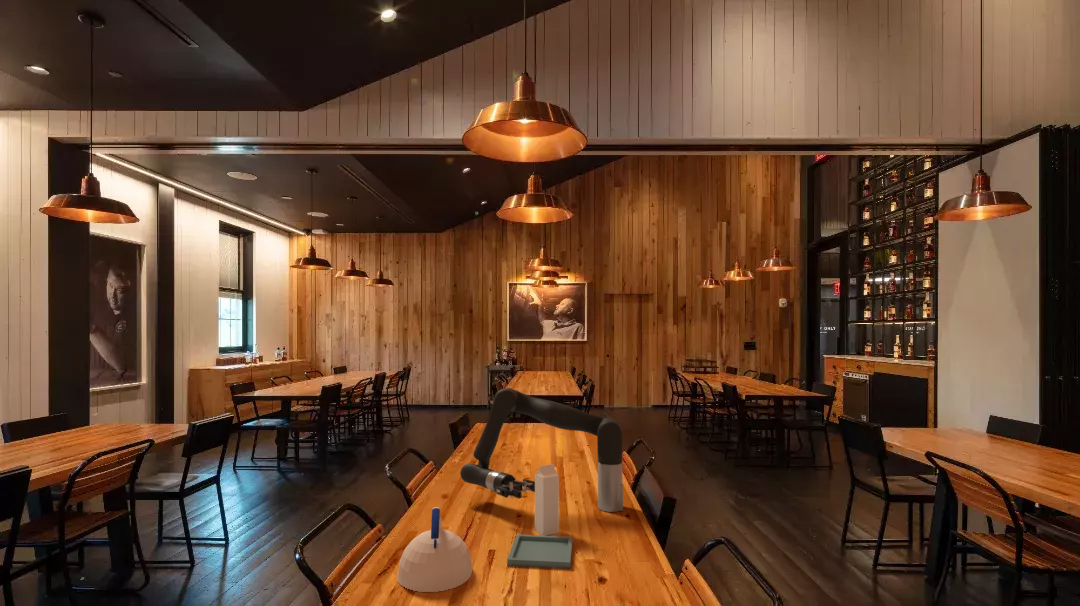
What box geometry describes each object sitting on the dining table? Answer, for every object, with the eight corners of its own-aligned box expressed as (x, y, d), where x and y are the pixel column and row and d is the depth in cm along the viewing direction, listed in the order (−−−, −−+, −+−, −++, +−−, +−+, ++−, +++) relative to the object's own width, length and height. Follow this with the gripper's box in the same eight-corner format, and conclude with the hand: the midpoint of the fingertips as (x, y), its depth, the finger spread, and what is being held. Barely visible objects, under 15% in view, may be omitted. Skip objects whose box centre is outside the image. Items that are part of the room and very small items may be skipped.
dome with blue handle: (470, 555, 154) (471, 494, 155) (473, 590, 134) (474, 519, 134) (401, 560, 150) (402, 498, 151) (393, 597, 130) (394, 524, 131)
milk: (558, 533, 171) (559, 466, 172) (543, 536, 168) (543, 468, 169) (549, 526, 176) (550, 461, 177) (534, 530, 173) (534, 464, 174)
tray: (572, 542, 163) (572, 536, 163) (570, 568, 145) (570, 562, 145) (516, 540, 165) (516, 534, 165) (507, 565, 147) (507, 559, 147)
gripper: (485, 476, 185) (514, 486, 174) (514, 468, 195) (544, 477, 184) (485, 497, 185) (514, 508, 173) (514, 488, 195) (544, 498, 183)
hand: (530, 492), depth 178 cm, fingers open, 8 cm apart
